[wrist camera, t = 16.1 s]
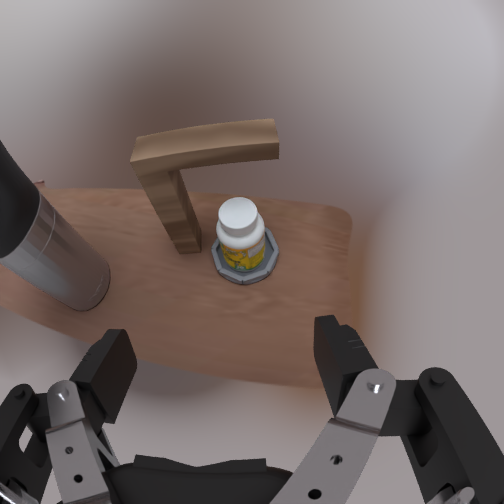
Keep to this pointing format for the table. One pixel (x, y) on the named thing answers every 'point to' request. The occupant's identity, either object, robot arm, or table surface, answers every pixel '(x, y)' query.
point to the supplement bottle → (241, 234)
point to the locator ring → (250, 276)
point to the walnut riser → (195, 155)
